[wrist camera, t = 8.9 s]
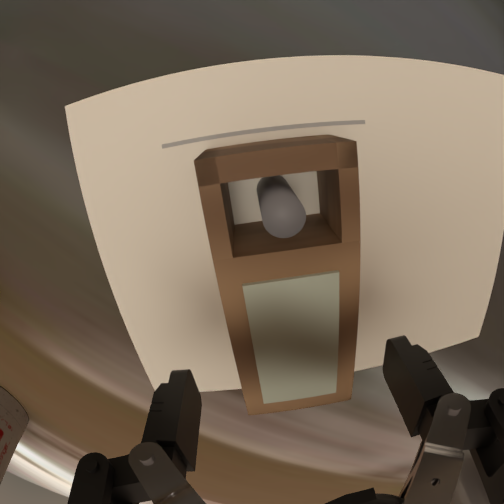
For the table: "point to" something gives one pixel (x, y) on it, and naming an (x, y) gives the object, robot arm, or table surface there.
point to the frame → (288, 273)
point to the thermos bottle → (10, 428)
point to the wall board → (297, 195)
